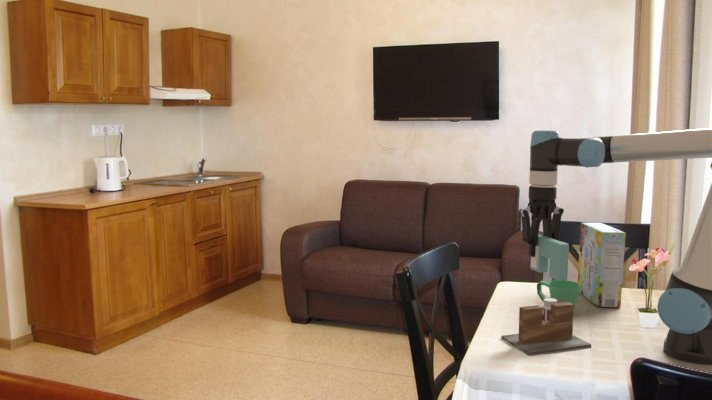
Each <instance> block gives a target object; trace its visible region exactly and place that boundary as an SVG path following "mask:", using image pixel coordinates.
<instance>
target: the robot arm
mask: <svg viewBox="0 0 712 400" xmlns="http://www.w3.org/2000/svg"><path fill="white" fill-rule="evenodd" d="M530 137H531V138H530V145H529V149H530V150H529V155H530V156H529V176H528V177H529V179H528V180H529V181H528V183H529V187H528V204H527V206H526V207H525V208H520V209H519V214H520V217H521V228H522V229H521V230H522V242H523V243H525V244H528V247H529V248H528V255H529V257H530V267H533V268H535V269H538V261H539V246H537V239H538V235H539V233H540V232H539V231H540V225H541V222H542V235H543V236H546V237H549V238H552V239H555V240H558V241H559V235H560V229H561V221H562V217H563V215H564V212H565V210H564V208H562V207H559V206H557V203H556V200H557V185H558V170H559V169H558V166H565V167H566V166H569V167H584V168H599V167H600V166H601V165H602V164H612V163H629V162H630V163H631V162H632V163H633V162H634V163H635V162H651V161H653V162H655V161H669V160H690V159H691V160H694V159H695V160H696V159H711V158H712V127H710V128H709V127H708V128H696V129H695V128H694V129H684V130H670V131H660V132H647V133H646V132H645V133H634V134H624V135H623V134H622V135H620V134H619V135H608V136H594V137H586V138H585V137H584V138H570V137H569V138H565V137H561V136H560V132H559V131H558V130H534V131H533V132H532V133H531V136H530ZM709 167H710V168H711V169H710V170H712V162H711V164H710V166H709ZM696 222H697V223H696V226H695V228H694V230H693V232H692V233H693V234H692V236H691V239H690V242H689V245H688V247H687V251H686V253H685V255H684V258H683V261H682V264H681V266H679V267H677V268H674V269H672V272H671V273H670V276H669V280H668V282H667V285H666V288H665V290H664V291H663V293H662V294H661V295H660V296H659V298H658V301H657V306H656V307H657V313H658V316H659V318H660V320H661V321H662V323H663V324H664V325H665V326H666V327H667V328H668V331H667V335H666V337H665V338H664V340H663V351H664V352H665V353H666V354H668V355H669V356H671V357H673V358H675V359H678V360H681V361H685V362H689V363H695V364H703V365H705V364H707V365H712V183H711V184H710V187H709V189H708V192H707V196H706V197H705V201H704V203H703V206H702V209H701V211H700V214H699V217H698V219H697V221H696Z"/></svg>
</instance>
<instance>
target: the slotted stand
mask: <svg viewBox="0 0 712 400" xmlns="http://www.w3.org/2000/svg"><path fill="white" fill-rule="evenodd" d="M573 309H574V310H575V308H574V304H572V303H570V302H562V303H553V304H551V317H550V321H544V322H542V306H540V305H538V304H536V305H528V306H527V305H526V306H519V311H518V312H519V314H518V315H519V316H518V333H515V334H514V333H513V334H503V335H501V336H500V337H501V338H502V340H503V339H504V340H503V341H505V342H506V341H507V342H506V343H508V344H509V343H510V345H511V346H512V347H514V346H515V348H516V349H517V348H518V351H521V352H522V353H524V354H526V355H527V356H535V355H541V354H550V353H558V352H565V351H574V350H579V349H588V348H592V343H590V342H588V341H586V340H584V339H582V338H580V337H577V336H576V335H575V334H573V331H574V330H573V329H574V310H573ZM501 338H500V339H501Z"/></svg>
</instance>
